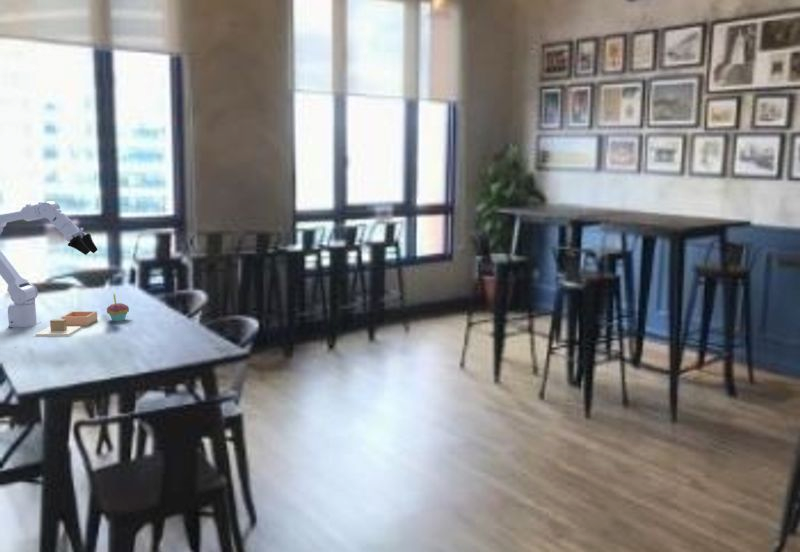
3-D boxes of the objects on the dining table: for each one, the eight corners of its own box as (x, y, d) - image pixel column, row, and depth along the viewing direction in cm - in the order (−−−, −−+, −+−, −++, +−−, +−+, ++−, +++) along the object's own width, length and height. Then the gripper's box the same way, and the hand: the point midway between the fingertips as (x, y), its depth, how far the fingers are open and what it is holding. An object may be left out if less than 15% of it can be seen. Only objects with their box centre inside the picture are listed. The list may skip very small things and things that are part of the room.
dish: (62, 327, 293) (61, 316, 292) (72, 321, 303) (71, 311, 302) (88, 326, 293) (87, 316, 293) (97, 321, 303) (96, 311, 302)
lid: (35, 336, 277) (34, 323, 276) (49, 328, 289) (48, 316, 288) (68, 336, 277) (67, 323, 277) (81, 328, 289) (80, 316, 288)
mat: (31, 337, 276) (31, 336, 276) (48, 328, 290) (48, 327, 290) (70, 337, 277) (70, 336, 276) (85, 328, 290) (84, 327, 290)
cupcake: (121, 323, 299) (120, 294, 297) (102, 322, 301) (100, 293, 299) (133, 318, 308) (132, 290, 306) (114, 317, 309) (113, 289, 307)
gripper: (65, 220, 281) (91, 246, 282) (81, 218, 295) (106, 243, 296) (52, 233, 281) (78, 259, 282) (68, 231, 296) (93, 256, 297)
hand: (91, 252), depth 289 cm, fingers open, 7 cm apart
